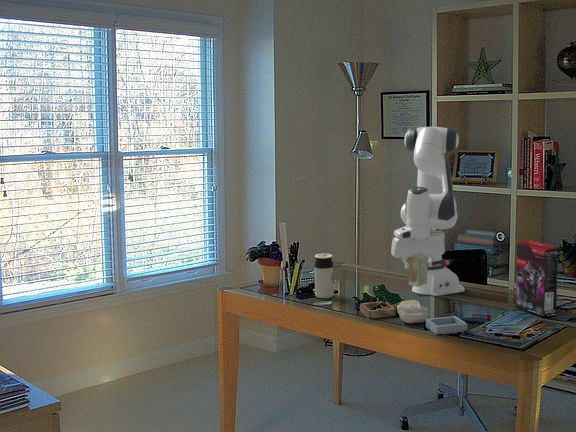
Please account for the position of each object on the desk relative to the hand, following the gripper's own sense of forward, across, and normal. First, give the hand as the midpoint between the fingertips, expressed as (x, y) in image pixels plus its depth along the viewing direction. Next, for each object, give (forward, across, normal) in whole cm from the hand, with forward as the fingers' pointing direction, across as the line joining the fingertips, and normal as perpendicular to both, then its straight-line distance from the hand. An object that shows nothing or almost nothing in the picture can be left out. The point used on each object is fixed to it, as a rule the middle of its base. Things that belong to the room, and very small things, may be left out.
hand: (418, 267), depth 295 cm
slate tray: (+22, -7, +10) cm, 25 cm away
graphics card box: (+21, -49, 0) cm, 53 cm away
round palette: (+22, -28, +20) cm, 41 cm away
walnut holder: (+22, +10, -17) cm, 29 cm away
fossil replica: (+22, +1, -2) cm, 22 cm away
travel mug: (+22, +24, -48) cm, 58 cm away
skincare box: (+7, 0, 0) cm, 7 cm away
